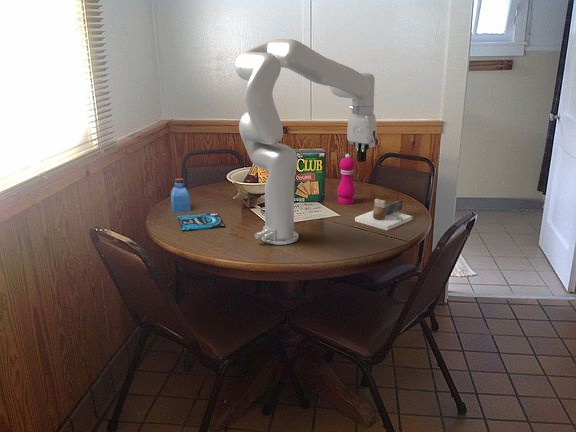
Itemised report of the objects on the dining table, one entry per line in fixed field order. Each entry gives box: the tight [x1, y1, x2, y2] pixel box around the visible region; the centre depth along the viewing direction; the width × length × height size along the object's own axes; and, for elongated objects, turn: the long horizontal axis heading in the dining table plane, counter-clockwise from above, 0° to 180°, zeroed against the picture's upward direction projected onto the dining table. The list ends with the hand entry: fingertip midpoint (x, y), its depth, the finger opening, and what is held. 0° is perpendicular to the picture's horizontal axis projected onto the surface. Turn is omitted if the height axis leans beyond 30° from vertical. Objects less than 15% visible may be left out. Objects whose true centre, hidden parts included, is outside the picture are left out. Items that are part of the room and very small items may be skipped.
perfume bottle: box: [170, 177, 192, 213], centre depth 206 cm, size 6×6×12 cm
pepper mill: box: [336, 153, 356, 205], centre depth 215 cm, size 7×7×20 cm
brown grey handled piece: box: [372, 198, 404, 219], centre depth 197 cm, size 16×4×6 cm, turn 136°
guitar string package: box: [177, 212, 227, 233], centre depth 193 cm, size 15×1×15 cm
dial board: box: [354, 210, 413, 231], centre depth 197 cm, size 16×15×2 cm
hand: (361, 161), depth 194 cm, fingers closed
